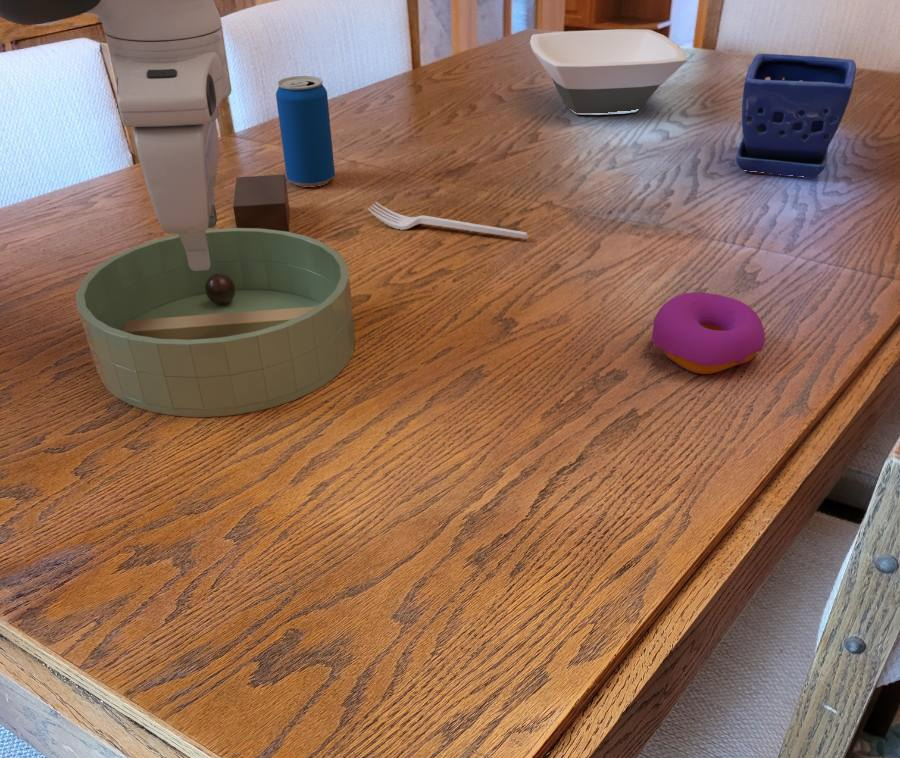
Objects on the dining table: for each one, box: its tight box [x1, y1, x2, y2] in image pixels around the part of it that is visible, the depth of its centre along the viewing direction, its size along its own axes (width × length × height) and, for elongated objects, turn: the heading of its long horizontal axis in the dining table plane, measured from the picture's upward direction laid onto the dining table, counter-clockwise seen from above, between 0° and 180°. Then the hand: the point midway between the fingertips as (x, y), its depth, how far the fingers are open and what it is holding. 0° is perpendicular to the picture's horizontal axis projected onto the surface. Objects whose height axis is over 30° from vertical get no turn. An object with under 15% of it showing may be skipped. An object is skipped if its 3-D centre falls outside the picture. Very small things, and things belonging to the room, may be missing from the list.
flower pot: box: [735, 53, 857, 178], centre depth 119 cm, size 13×13×12 cm
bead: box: [205, 274, 235, 305], centre depth 92 cm, size 3×3×3 cm
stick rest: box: [232, 173, 291, 232], centre depth 110 cm, size 6×10×4 cm, turn 8°
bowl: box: [529, 28, 688, 113], centre depth 142 cm, size 22×23×8 cm
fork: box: [367, 201, 529, 240], centre depth 108 cm, size 3×20×2 cm, turn 69°
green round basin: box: [75, 227, 356, 418], centre depth 85 cm, size 25×25×7 cm
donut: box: [651, 291, 766, 375], centre depth 84 cm, size 10×10×5 cm
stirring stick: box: [124, 307, 315, 340], centre depth 86 cm, size 18×2×2 cm, turn 98°
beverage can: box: [275, 75, 336, 187], centre depth 117 cm, size 6×6×12 cm
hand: (204, 245), depth 81 cm, fingers open, 8 cm apart
